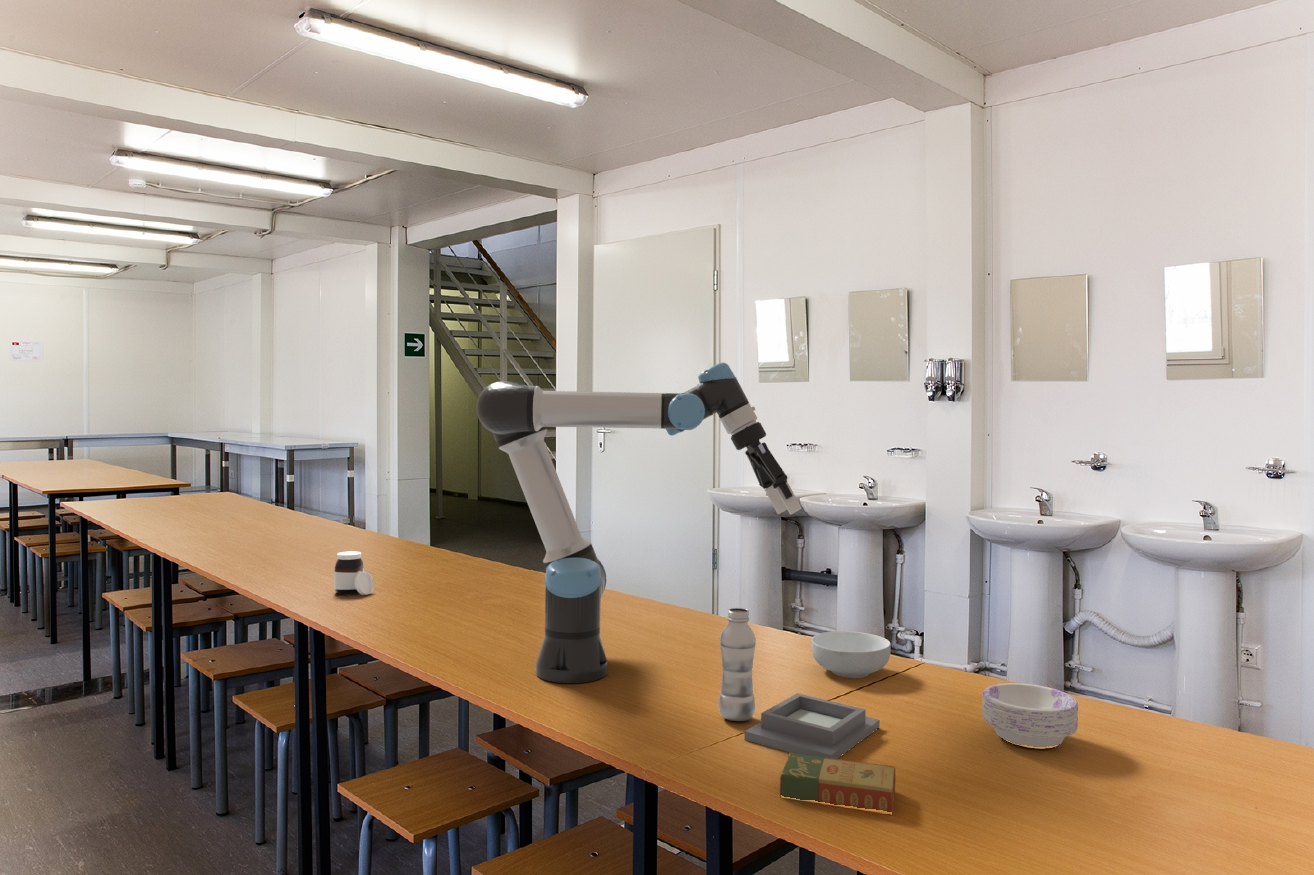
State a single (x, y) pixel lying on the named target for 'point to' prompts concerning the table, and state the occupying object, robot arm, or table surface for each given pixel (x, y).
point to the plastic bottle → (737, 667)
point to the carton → (838, 782)
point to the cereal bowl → (850, 652)
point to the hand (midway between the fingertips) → (789, 511)
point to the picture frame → (812, 727)
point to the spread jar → (351, 574)
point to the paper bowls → (1030, 713)
